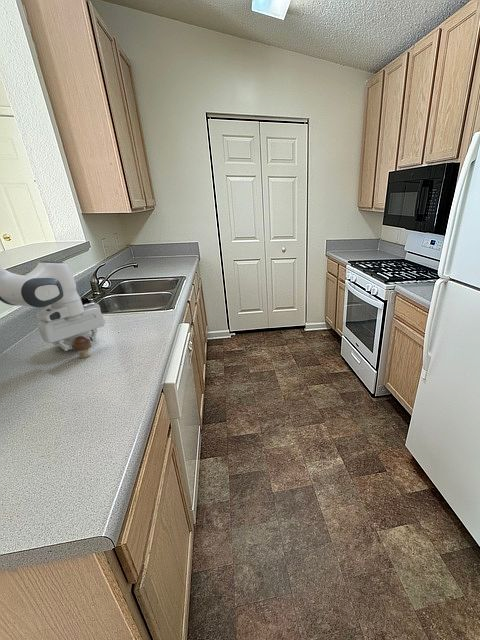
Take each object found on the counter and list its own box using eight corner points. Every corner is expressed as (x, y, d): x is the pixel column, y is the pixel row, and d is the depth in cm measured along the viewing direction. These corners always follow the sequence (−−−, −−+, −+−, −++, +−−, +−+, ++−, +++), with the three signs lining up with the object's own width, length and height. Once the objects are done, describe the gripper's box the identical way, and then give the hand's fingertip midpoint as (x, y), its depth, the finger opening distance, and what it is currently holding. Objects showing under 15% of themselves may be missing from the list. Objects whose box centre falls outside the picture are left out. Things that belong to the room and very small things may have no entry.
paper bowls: (61, 340, 136) (54, 322, 132) (102, 335, 140) (96, 317, 136) (48, 356, 123) (40, 336, 119) (94, 350, 127) (87, 330, 123)
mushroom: (81, 361, 119) (74, 341, 115) (72, 357, 122) (65, 337, 118) (98, 354, 123) (91, 335, 120) (89, 351, 126) (82, 332, 123)
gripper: (93, 299, 123) (103, 334, 130) (30, 315, 108) (46, 353, 114) (102, 301, 120) (113, 337, 127) (40, 318, 105) (55, 357, 111)
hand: (80, 345), depth 120 cm, fingers open, 8 cm apart
